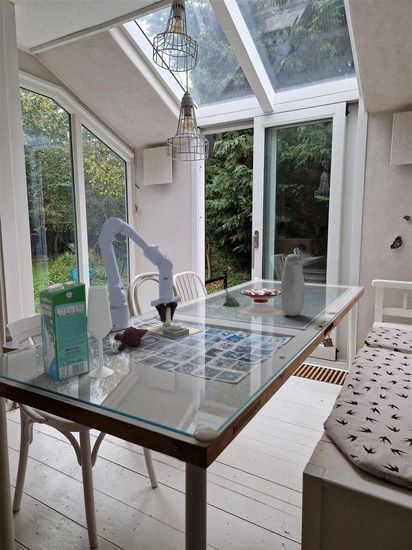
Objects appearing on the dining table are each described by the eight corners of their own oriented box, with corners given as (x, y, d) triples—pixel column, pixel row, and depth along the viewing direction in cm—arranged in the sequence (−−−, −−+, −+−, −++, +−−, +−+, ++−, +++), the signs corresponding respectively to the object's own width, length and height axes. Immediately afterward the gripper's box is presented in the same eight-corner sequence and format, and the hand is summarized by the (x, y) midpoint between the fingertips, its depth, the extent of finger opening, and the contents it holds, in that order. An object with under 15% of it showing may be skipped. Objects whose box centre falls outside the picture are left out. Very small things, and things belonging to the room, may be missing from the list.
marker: (166, 326, 152) (166, 308, 151) (161, 325, 154) (160, 307, 153) (172, 325, 154) (172, 307, 153) (167, 323, 157) (166, 306, 156)
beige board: (176, 338, 136) (176, 337, 136) (141, 329, 149) (141, 328, 149) (202, 331, 146) (202, 330, 146) (168, 322, 160) (168, 322, 160)
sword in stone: (243, 305, 197) (243, 282, 195) (237, 308, 190) (236, 285, 189) (226, 303, 202) (225, 281, 200) (219, 306, 195) (219, 283, 194)
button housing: (175, 337, 136) (175, 333, 136) (162, 334, 141) (162, 329, 141) (189, 333, 141) (189, 329, 141) (176, 330, 146) (176, 326, 146)
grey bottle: (304, 318, 166) (306, 254, 162) (281, 317, 167) (282, 254, 164) (302, 313, 175) (304, 253, 172) (280, 312, 177) (281, 253, 174)
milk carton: (43, 372, 105) (38, 283, 102) (74, 363, 111) (70, 280, 108) (57, 381, 99) (52, 286, 96) (89, 371, 105) (85, 282, 102)
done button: (175, 333, 139) (175, 326, 138) (169, 331, 141) (168, 325, 141) (182, 331, 141) (182, 324, 141) (176, 330, 144) (176, 323, 143)
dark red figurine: (137, 321, 136) (105, 335, 124) (152, 319, 132) (120, 332, 119) (142, 340, 136) (111, 355, 124) (157, 338, 132) (126, 353, 120)
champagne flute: (118, 372, 104) (115, 286, 101) (97, 379, 99) (93, 289, 96) (105, 366, 109) (101, 284, 106) (84, 373, 104) (79, 287, 101)
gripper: (158, 291, 145) (159, 326, 146) (185, 287, 155) (186, 319, 157) (147, 289, 149) (147, 323, 151) (174, 285, 160) (174, 316, 161)
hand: (166, 321), depth 154 cm, fingers closed on marker, 3 cm apart
